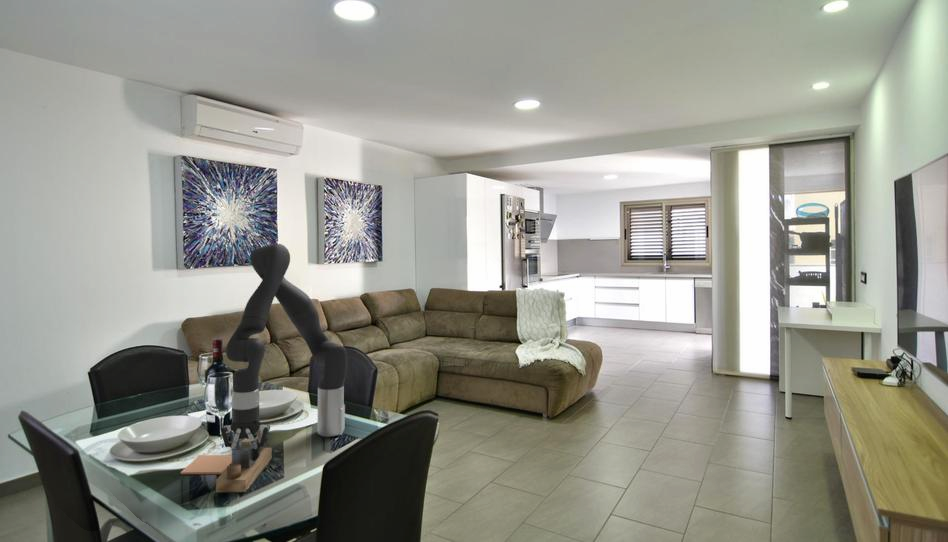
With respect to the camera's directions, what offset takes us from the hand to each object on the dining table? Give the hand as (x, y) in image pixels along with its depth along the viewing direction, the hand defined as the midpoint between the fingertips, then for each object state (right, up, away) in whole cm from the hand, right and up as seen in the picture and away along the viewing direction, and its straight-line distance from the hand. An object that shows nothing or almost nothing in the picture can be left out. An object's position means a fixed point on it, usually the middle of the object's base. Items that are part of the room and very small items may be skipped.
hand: (245, 459), depth 151 cm
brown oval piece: (-8, -3, +21) cm, 22 cm away
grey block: (0, -1, 0) cm, 1 cm away
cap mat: (-13, -4, +5) cm, 15 cm away
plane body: (0, -4, 0) cm, 4 cm away
